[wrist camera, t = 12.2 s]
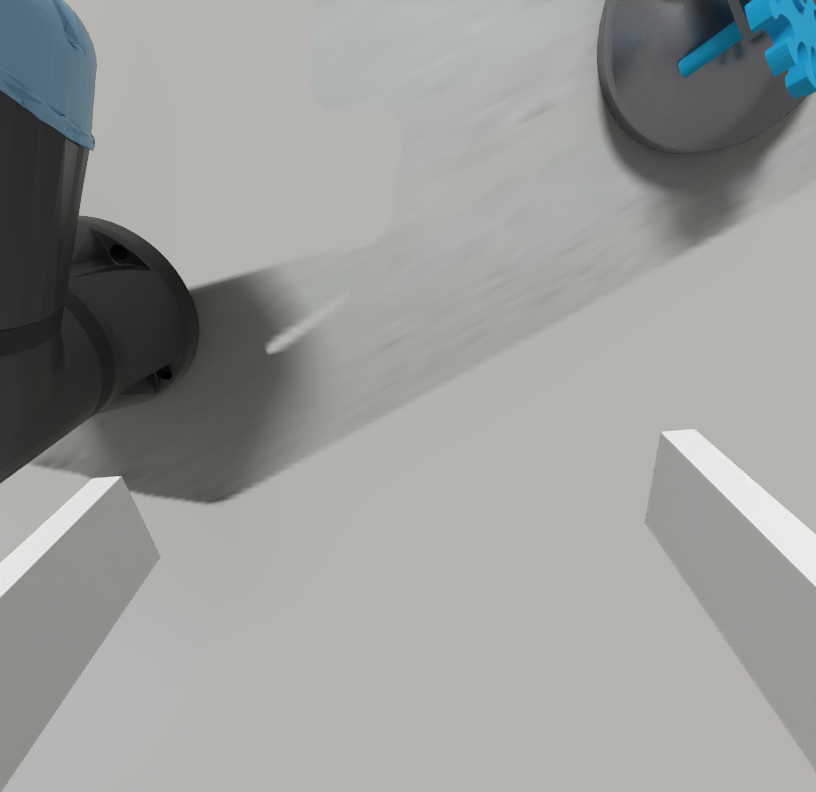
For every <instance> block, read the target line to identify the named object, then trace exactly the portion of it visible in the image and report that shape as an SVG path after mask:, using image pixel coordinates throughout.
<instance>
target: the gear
mask: <svg viewBox="0 0 816 792" xmlns="http://www.w3.org/2000/svg"><path fill="white" fill-rule="evenodd" d="M728 3H729V6H730V8H731V11H732V14H733V16H734V19H735V21H734V22H733V23H731V24H730V25H729V26H727V27H726V28H725V29H723V30H722V31H720V32H719V33H718V34H716V35H715V36H714V37H712V38H711V39H709V40H708V41H707V42H705V43H704V44H703V45H701V46H700V47H698V48H697V49H696V50H694V51H693V52H692V53H690V54H689V55H687V56H686V57H685V58H683V59H682V60H681V61H679V63H678V67H679V70H680V73H681V75H682V76H683V77H684V78H687V77H688V76H690V75H691V74H692V73H694V72H695V71H697V70H698V69H700V68H701V67H703V66H704V65H705V64H707V63H708V62H710V61H711V60H713V59H714V58H716V57H717V56H719V55H720V54H721V53H723V52H724V51H726V50H727V49H729V48H730V47H732V46H733V45H734V44H736V43H737V42H739V41H740V40H742V39H744V40H745V41H746V42H749V41H750V40H752V39H753V38H755V37H756V36H758V35H759V34H761V33H762V32H764V31H765V32H767V33H768V34H769V36H770V38H771V40H772V42H773V46H772V47H771V48H769V49H767V50H766V51H765V58H766V60H767V63H768V65H769V68H770V70H771V72H772V74H773V76H774V77H776V76H777V75H779V74H781V73H783V72H784V71H786V70H788V74H787V75H786V76H785V84H786V88H787V90H788V92H789V93H790V94H791V96H792V97H793V98H794V99H797V98H798V97H800V96H802V95H803V96H808V95H810V94H812V93H814V92H816V5H815V3H814V1H813V0H752V1H751V2H750V1H749V0H728Z"/></svg>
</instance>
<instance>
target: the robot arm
mask: <svg viewBox="0 0 816 792" xmlns="http://www.w3.org/2000/svg"><path fill="white" fill-rule="evenodd" d="M96 68H97V63H96V55H95V50H94V46H93V43H92V40H91V38H90V36H89V34H88V32H87V30H86V29H85V26H84V25H83V23H82V22H81V20H80V19H79V17H78V16H77V15H76V13H75V12H74V11H73V10H72V9H71V8H70V7H69V5H67V4H66V2H65V1H64V0H0V483H1V482H3V481H4V480H5V479H7V478H8V477H10V476H11V475H12V474H14V473H15V472H16V471H18V470H19V469H21V468H22V467H23V466H25V465H26V464H27V463H29V462H30V461H32V460H33V459H34V458H36V457H37V456H38V455H40V454H41V453H42V452H44V451H45V450H47V449H48V448H49V447H51V446H52V445H53V444H55V443H56V442H57V441H59V440H60V439H62V438H63V437H64V436H66V435H67V434H68V433H70V432H71V431H72V430H74V429H75V428H77V427H78V426H79V425H81V424H82V423H83V422H85V421H86V420H87V419H89V418H90V417H92V416H93V415H94V414H98V413H102V412H106V411H110V410H114V409H118V408H122V407H126V406H130V405H134V404H138V403H141V402H144V401H147V400H149V399H151V398H154V397H156V396H157V395H159V394H161V393H162V392H164V391H165V390H166V389H168V388H169V387H170V386H171V385H172V384H174V383H175V382H176V381H177V380H178V379H179V378H181V376H182V375H183V374H184V373H185V372H186V371H187V369H188V368H189V366H190V364H191V362H192V361H193V358H194V356H195V352H196V349H197V344H198V321H197V315H196V311H195V307H194V304H193V301H192V298H191V296H190V294H189V291H188V289H187V287H186V285H185V284H184V282H183V280H182V279H181V277H180V276H179V274H178V273H177V271H176V270H175V269H174V267H173V266H172V265H171V264H170V263H169V261H168V260H167V259H166V258H165V257H164V256H163V255H162V254H161V253H160V252H159V251H158V250H157V249H156V248H154V247H153V246H152V245H151V244H150V243H148V242H147V241H145V240H144V239H143V238H141V237H140V236H138V235H136V234H135V233H133V232H131V231H130V230H128V229H126V228H124V227H122V226H119V225H117V224H115V223H112V222H109V221H106V220H103V219H99V218H94V217H87V216H79V209H80V202H81V195H82V190H83V183H84V178H85V172H86V166H87V161H88V155H89V150H92V151H93V149H94V146H95V139H94V137H93V136H92V134H91V129H92V117H93V102H94V91H95V78H96ZM645 524H646V525H647V527H648V528H649V530H650V531H651V532H652V534H653V535H654V537H655V538H656V540H657V541H658V543H659V544H660V546H661V547H662V548H663V550H664V551H665V553H666V554H667V556H668V557H669V559H670V560H671V561H672V563H673V564H674V566H675V567H676V569H677V570H678V571H679V573H680V575H681V576H682V578H683V579H684V580H685V582H686V583H687V585H688V586H689V588H690V589H691V591H692V592H693V594H694V595H695V596H696V598H697V599H698V601H699V602H700V604H701V605H702V607H703V608H704V609H705V611H706V612H707V614H708V615H709V617H710V618H711V620H712V621H713V623H714V624H715V626H716V627H717V629H718V630H719V631H720V633H721V634H722V636H723V637H724V639H725V640H726V641H727V643H728V645H729V646H730V647H731V649H732V650H733V652H734V653H735V655H736V656H737V658H738V659H739V661H740V662H741V663H742V665H743V666H744V667H745V669H746V671H747V672H748V674H749V675H750V676H751V678H752V679H753V681H754V682H755V684H756V685H757V687H758V688H759V690H760V691H761V692H762V694H763V696H764V697H765V698H766V700H767V701H768V703H769V704H770V706H771V707H772V708H773V710H774V712H775V713H776V714H777V716H778V717H779V719H780V720H781V722H782V723H783V725H784V726H785V728H786V729H787V730H788V732H789V733H790V735H791V736H792V738H793V739H794V741H795V742H796V744H797V745H798V746H799V748H800V749H801V751H802V752H803V754H804V755H805V757H806V758H807V760H808V761H809V762H810V764H811V765H812V767H813V768H814V770H815V771H816V534H814V533H813V532H812V531H811V530H810V529H808V528H807V527H806V526H805V525H804V524H803V523H802V522H801V521H799V520H798V519H797V518H796V517H795V516H793V515H792V514H791V513H790V512H789V511H788V510H787V509H786V508H784V507H783V506H782V505H781V504H780V503H779V502H777V501H776V500H775V499H774V498H773V497H772V496H771V495H769V494H768V493H767V492H766V491H765V490H764V489H762V488H761V487H760V486H759V485H758V484H757V483H756V482H754V481H753V480H752V479H751V478H750V477H749V476H748V475H746V474H745V473H744V472H743V471H742V470H741V469H739V468H738V467H737V466H736V465H735V464H734V463H733V462H731V461H730V460H729V459H728V458H727V457H726V456H725V455H723V454H722V453H721V452H720V451H719V450H718V449H717V448H715V447H714V446H713V445H712V444H711V443H710V442H708V441H707V440H706V439H705V438H704V437H703V436H702V435H700V434H699V433H698V432H697V431H696V430H695V429H691V430H679V431H667V432H661V433H660V439H659V445H658V450H657V456H656V461H655V467H654V473H653V479H652V484H651V490H650V496H649V502H648V507H647V513H646V518H645ZM159 558H160V555H159V553H158V551H157V549H156V547H155V545H154V543H153V541H152V539H151V536H150V534H149V532H148V530H147V528H146V526H145V524H144V522H143V520H142V518H141V515H140V513H139V511H138V509H137V507H136V505H135V503H134V501H133V499H132V497H131V494H130V492H129V490H128V488H127V486H126V484H125V482H124V480H123V478H122V476H115V477H103V478H92V479H91V480H90V481H89V482H88V483H87V484H86V485H85V486H84V487H82V489H80V490H79V491H78V492H77V493H76V494H75V495H74V496H73V497H72V498H70V499H69V500H68V501H67V502H66V503H65V504H64V505H63V506H62V507H61V508H60V509H58V511H56V512H55V513H54V514H53V515H52V516H51V517H50V518H49V519H48V520H46V521H45V522H44V523H43V524H42V525H41V526H40V527H39V528H38V529H37V530H36V531H34V532H33V533H32V534H31V535H30V536H29V537H28V538H27V539H26V540H25V541H24V542H23V543H21V544H20V545H19V546H18V547H17V548H16V549H15V550H14V551H13V552H12V553H11V554H9V555H8V556H7V557H6V558H5V559H4V560H3V561H2V562H1V563H0V792H1V791H2V790H3V788H4V787H5V786H6V784H7V783H8V781H9V779H10V778H11V777H12V775H13V774H14V772H15V771H16V769H17V768H18V766H19V765H20V763H21V762H22V760H23V759H24V758H25V756H26V755H27V753H28V751H29V750H30V748H31V747H32V746H33V744H34V743H35V741H36V740H37V738H38V737H39V735H40V734H41V732H42V731H43V729H44V728H45V727H46V725H47V724H48V722H49V721H50V719H51V718H52V716H53V715H54V713H55V712H56V710H57V709H58V707H59V706H60V704H61V703H62V701H63V700H64V698H65V697H66V696H67V694H68V692H69V691H70V690H71V688H72V687H73V685H74V684H75V682H76V681H77V679H78V678H79V676H80V675H81V673H82V672H83V670H84V669H85V667H86V666H87V664H88V663H89V661H90V660H91V659H92V657H93V656H94V654H95V653H96V651H97V649H98V648H99V647H100V645H101V644H102V642H103V641H104V639H105V638H106V636H107V635H108V633H109V632H110V631H111V629H112V627H113V626H114V625H115V623H116V622H117V620H118V619H119V617H120V615H121V614H122V613H123V611H124V610H125V608H126V607H127V605H128V604H129V602H130V601H131V600H132V598H133V597H134V595H135V593H136V592H137V591H138V589H139V588H140V586H141V585H142V583H143V582H144V580H145V579H146V577H147V576H148V574H149V573H150V571H151V570H152V569H153V567H154V566H155V564H156V563H157V561H158V560H159Z"/></svg>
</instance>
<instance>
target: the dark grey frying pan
mask: <svg viewBox="0 0 816 792" xmlns="http://www.w3.org/2000/svg"><path fill="white" fill-rule="evenodd" d="M749 1H750V2H751V1H752V0H749ZM813 1H814V3H815V5H816V0H813ZM734 21H735V19H734V16H733V14H732V11H731V8H730V6H729V3H728V0H606V2H605V5H604V8H603V13H602V17H601V22H600V28H599V36H598V55H597V60H598V71H599V78H600V83H601V87H602V92H603V94H604V97H605V100H606V103H607V105H608V107H609V109H610V111H611V113H612V115H613V117H614V118H615V119H616V121H617V122H618V123H619V125H620V126H621V127H622V128H623V129H624V130H625V131H626V132H627V133H628V134H629V135H630V136H631V137H632V138H634V139H635V140H637V141H638V142H639V143H641V144H643V145H645V146H647V147H650V148H652V149H655V150H659V151H662V152H669V153H692V152H701V151H710V150H716V149H721V148H726V147H730V146H733V145H736V144H739V143H742V142H744V141H746V140H748V139H750V138H753V137H755V136H757V135H758V134H760V133H762V132H764V131H765V130H767V129H769V128H770V127H772V126H773V125H774V124H776V123H777V122H778V121H780V120H781V119H782V118H784V117H785V116H786V115H787V114H789V113H790V112H791V111H792V110H793V109H794V108H795V107H796V106H797V105H799V104H800V103H801V101H802V100H803V99H804V98H805V97H806V96H803V95H802V96H800V97H798V98H797V99H794V98H793V97H792V96H791V94H790V93H789V92H788V90H787V88H786V84H785V76H786V75H787V74H788V70H786V71H784V72H783V73H781V74H779V75H777V76H776V77H774V76H773V74H772V72H771V70H770V68H769V65H768V63H767V60H766V58H765V51H766V50H767V49H769V48H771V47H772V46H773V42H772V40H771V38H770V36H769V34H768V33H767V32H765V31H764V32H762V33H761V34H759V35H758V36H756V37H755V38H753V39H752V40H750V41H749V42H746V41H745V40H744V39H742V40H740V41H739V42H737V43H736V44H734V45H733V46H732V47H730V48H729V49H727V50H726V51H724V52H723V53H721V54H720V55H719V56H717V57H716V58H714V59H713V60H711V61H710V62H708V63H707V64H705V65H704V66H703V67H701V68H700V69H698V70H697V71H695V72H694V73H692V74H691V75H690V76H688V77H687V78H684V77H683V76H682V75H681V73H680V70H679V67H678V63H679V61H681V60H682V59H683V58H685V57H686V56H687V55H689V54H690V53H692V52H693V51H694V50H696V49H697V48H698V47H700V46H701V45H703V44H704V43H705V42H707V41H708V40H709V39H711V38H712V37H714V36H715V35H716V34H718V33H719V32H720V31H722V30H723V29H725V28H726V27H727V26H729V25H730V24H731V23H733V22H734Z"/></svg>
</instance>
